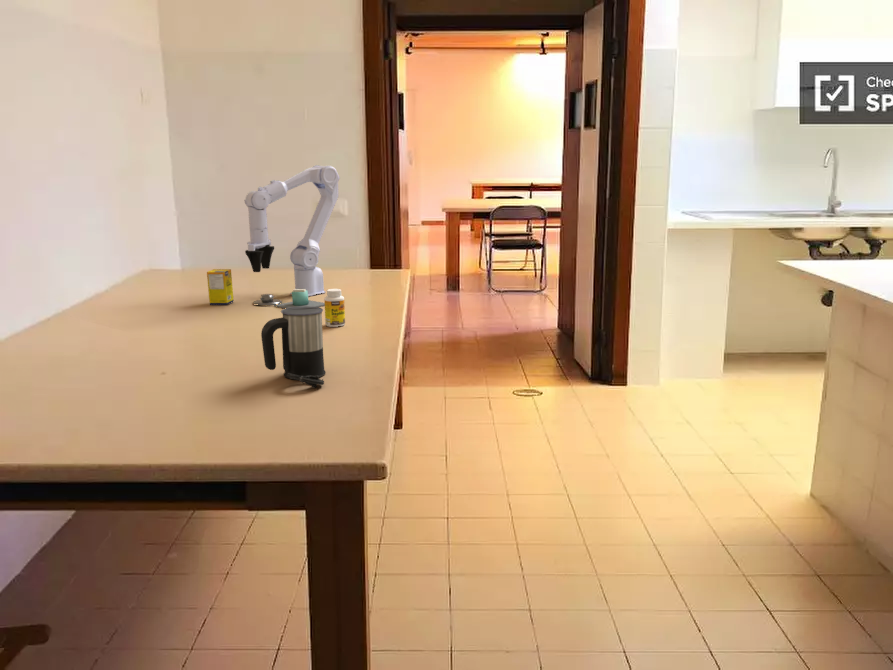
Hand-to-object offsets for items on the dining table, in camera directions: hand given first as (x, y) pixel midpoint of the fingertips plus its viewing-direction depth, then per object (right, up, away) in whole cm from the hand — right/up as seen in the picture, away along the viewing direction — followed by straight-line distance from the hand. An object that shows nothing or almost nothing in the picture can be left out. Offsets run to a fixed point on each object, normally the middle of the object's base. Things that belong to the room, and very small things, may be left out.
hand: (261, 270), depth 261 cm
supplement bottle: (+29, -19, -36) cm, 50 cm away
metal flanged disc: (+3, -11, -4) cm, 12 cm away
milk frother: (+30, -31, -87) cm, 97 cm away
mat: (+15, -12, -8) cm, 21 cm away
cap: (+14, -11, -8) cm, 20 cm away
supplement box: (-12, -11, -3) cm, 17 cm away
